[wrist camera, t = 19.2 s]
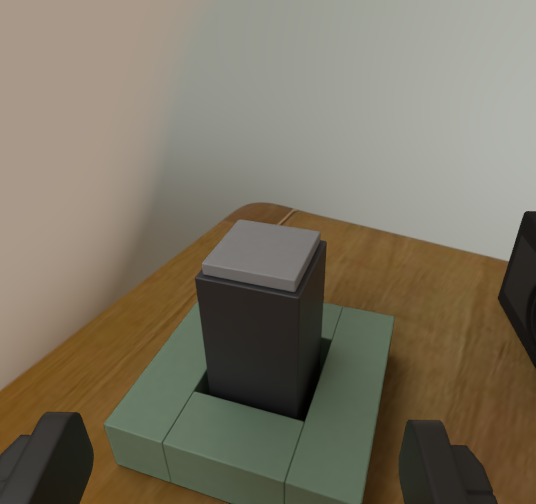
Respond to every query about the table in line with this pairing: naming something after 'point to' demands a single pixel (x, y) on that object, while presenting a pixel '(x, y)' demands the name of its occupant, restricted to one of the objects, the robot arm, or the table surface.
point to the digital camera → (522, 285)
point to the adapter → (258, 421)
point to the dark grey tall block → (264, 316)
